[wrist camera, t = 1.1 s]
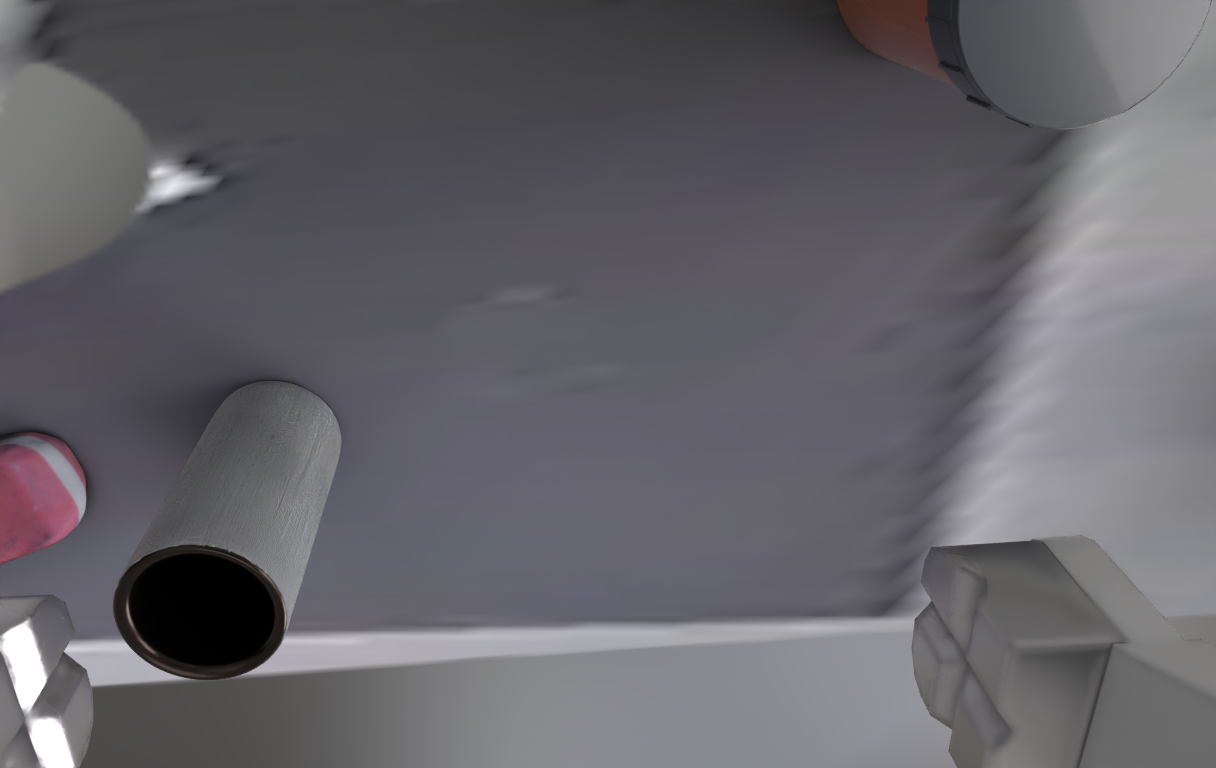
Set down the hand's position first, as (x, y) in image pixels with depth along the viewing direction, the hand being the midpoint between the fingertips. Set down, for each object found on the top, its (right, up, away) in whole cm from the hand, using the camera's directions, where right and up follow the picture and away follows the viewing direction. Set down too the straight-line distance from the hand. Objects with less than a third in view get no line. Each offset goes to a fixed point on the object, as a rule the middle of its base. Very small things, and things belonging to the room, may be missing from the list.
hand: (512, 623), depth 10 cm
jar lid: (+12, +11, +13) cm, 21 cm away
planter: (-11, +1, +27) cm, 29 cm away
